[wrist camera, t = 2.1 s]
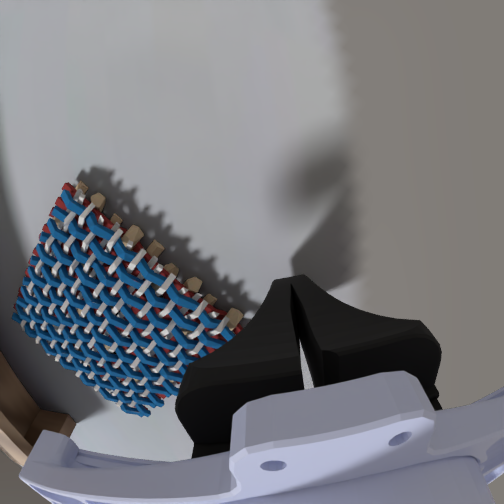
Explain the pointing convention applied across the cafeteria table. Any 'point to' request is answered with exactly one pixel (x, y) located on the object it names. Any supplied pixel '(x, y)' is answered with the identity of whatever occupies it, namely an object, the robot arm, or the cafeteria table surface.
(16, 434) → the curved wooden frame
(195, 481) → the robot arm
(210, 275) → the cafeteria table surface
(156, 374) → the woven mat
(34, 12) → the cafeteria table surface
